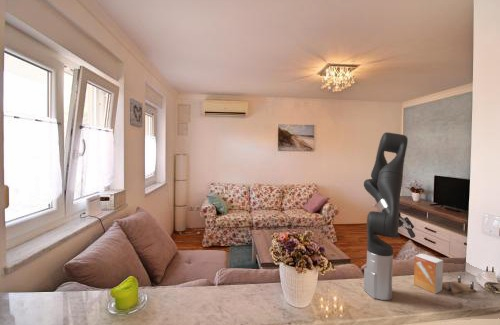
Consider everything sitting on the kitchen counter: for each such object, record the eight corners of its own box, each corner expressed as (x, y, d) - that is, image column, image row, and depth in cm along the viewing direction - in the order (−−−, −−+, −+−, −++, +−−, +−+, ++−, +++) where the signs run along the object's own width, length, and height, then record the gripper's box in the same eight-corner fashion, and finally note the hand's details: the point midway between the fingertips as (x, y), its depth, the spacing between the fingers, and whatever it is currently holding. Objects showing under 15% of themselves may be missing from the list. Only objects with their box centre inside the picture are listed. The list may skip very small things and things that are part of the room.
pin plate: (451, 294, 94) (451, 284, 94) (434, 284, 101) (435, 276, 101) (475, 291, 96) (476, 283, 96) (457, 282, 103) (458, 274, 103)
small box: (413, 284, 101) (414, 255, 101) (421, 281, 104) (421, 252, 104) (435, 294, 94) (436, 262, 94) (442, 290, 97) (443, 260, 96)
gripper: (380, 204, 118) (397, 234, 106) (404, 204, 120) (423, 233, 109) (372, 212, 123) (388, 241, 112) (396, 212, 125) (413, 240, 114)
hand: (405, 237), depth 110 cm, fingers open, 8 cm apart
